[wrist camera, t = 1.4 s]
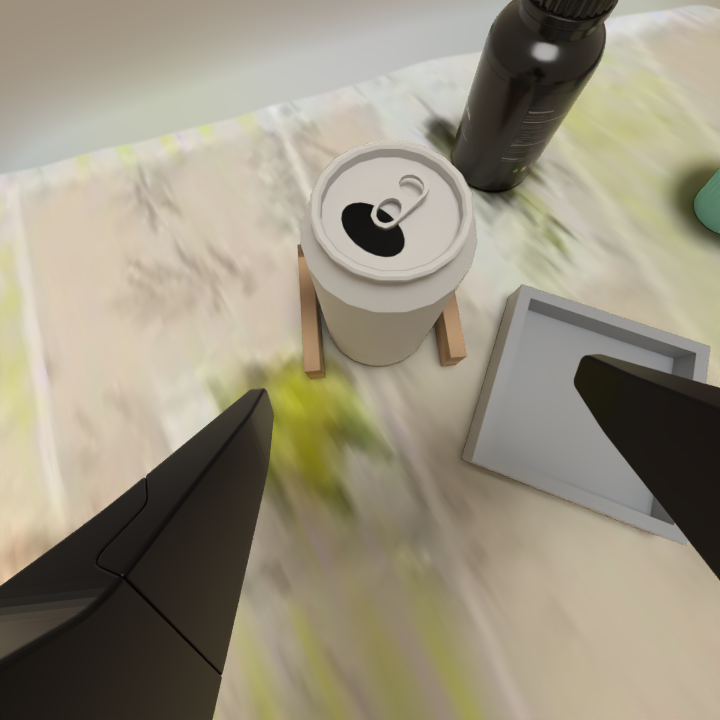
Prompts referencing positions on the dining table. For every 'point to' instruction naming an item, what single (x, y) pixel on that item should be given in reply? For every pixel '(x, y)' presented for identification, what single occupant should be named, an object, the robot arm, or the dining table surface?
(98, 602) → the robot arm
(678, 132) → the dining table surface
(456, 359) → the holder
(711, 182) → the cupcake
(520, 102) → the supplement bottle
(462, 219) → the can
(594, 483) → the tray
